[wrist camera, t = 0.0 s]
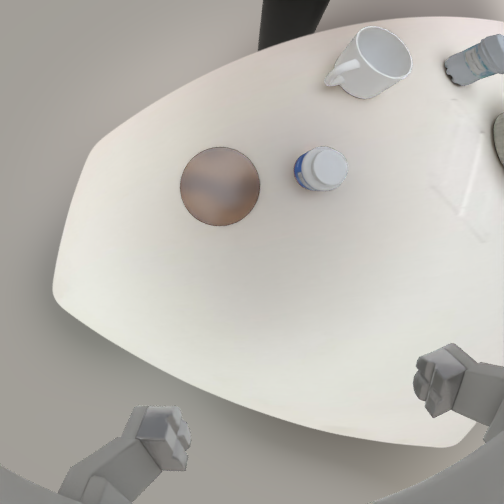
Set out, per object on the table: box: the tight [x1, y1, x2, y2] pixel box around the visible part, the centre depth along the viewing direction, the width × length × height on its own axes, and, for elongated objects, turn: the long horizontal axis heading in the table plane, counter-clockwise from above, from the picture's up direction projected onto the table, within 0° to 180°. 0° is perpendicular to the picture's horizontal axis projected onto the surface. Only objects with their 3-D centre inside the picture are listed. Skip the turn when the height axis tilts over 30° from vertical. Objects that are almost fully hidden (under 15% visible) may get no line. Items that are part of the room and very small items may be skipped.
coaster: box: [180, 147, 260, 226], centre depth 37 cm, size 11×11×1 cm
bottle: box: [445, 34, 504, 86], centre depth 23 cm, size 7×7×20 cm
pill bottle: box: [294, 146, 348, 191], centre depth 33 cm, size 6×5×10 cm
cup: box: [324, 26, 413, 99], centre depth 29 cm, size 8×12×10 cm
